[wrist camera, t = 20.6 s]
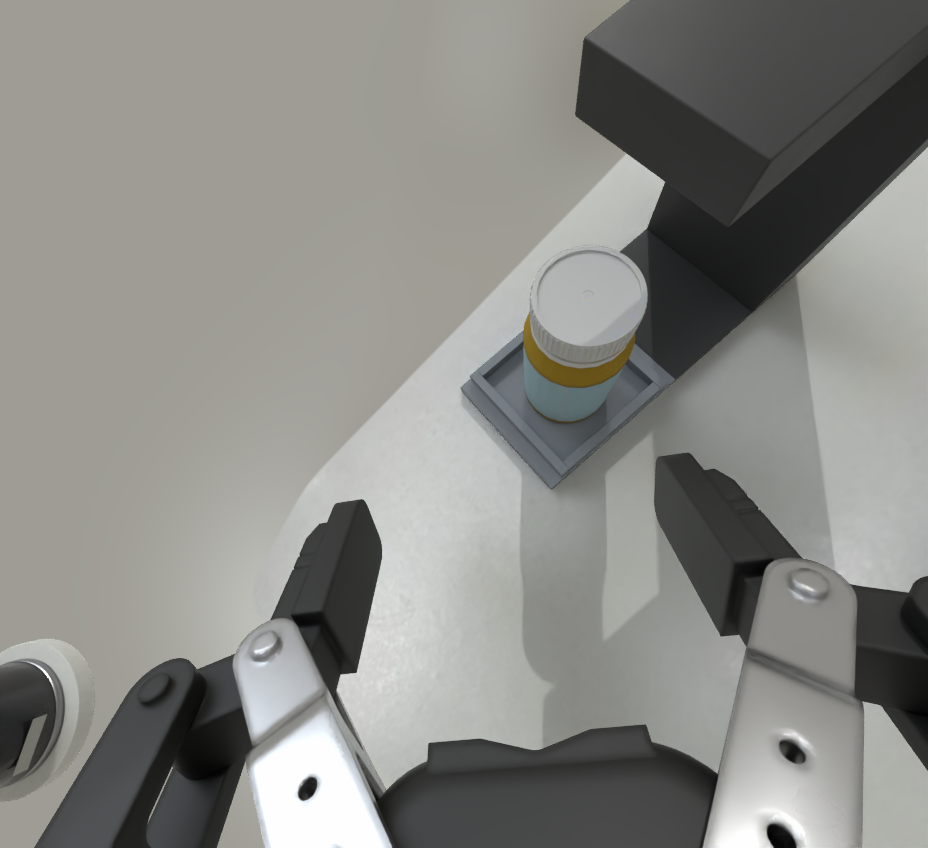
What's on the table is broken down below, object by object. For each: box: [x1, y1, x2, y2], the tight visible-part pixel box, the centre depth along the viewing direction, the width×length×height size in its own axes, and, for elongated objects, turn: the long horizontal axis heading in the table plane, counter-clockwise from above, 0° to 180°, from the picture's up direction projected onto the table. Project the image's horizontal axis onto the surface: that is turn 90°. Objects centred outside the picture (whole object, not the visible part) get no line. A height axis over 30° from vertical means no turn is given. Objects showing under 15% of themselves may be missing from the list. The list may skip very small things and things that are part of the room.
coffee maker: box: [461, 0, 928, 489], centre depth 27 cm, size 29×12×26 cm, turn 130°
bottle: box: [523, 245, 648, 423], centre depth 30 cm, size 7×7×15 cm
